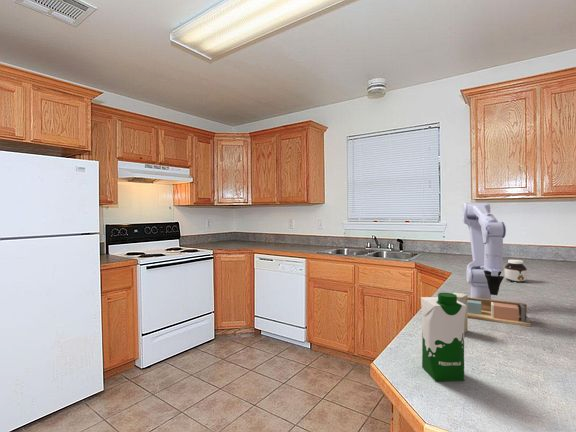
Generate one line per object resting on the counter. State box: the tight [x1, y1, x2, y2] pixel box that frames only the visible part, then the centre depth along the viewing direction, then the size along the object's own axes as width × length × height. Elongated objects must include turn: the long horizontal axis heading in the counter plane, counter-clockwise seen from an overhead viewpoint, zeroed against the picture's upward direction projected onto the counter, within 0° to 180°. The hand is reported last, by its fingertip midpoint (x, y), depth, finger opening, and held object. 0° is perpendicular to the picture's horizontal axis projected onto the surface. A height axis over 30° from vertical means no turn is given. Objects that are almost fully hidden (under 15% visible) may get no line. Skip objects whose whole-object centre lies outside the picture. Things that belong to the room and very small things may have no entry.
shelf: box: [467, 296, 531, 327], centre depth 123 cm, size 12×20×5 cm, turn 60°
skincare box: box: [452, 291, 469, 334], centre depth 109 cm, size 6×4×12 cm
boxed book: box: [491, 302, 519, 321], centre depth 120 cm, size 5×8×4 cm, turn 61°
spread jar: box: [503, 259, 528, 284], centre depth 183 cm, size 12×11×12 cm
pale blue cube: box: [467, 300, 481, 315], centre depth 126 cm, size 4×5×4 cm
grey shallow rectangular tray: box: [518, 302, 531, 324], centre depth 117 cm, size 7×2×5 cm, turn 151°
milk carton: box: [420, 292, 467, 382], centre depth 81 cm, size 9×9×20 cm
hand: (493, 292), depth 120 cm, fingers open, 7 cm apart
